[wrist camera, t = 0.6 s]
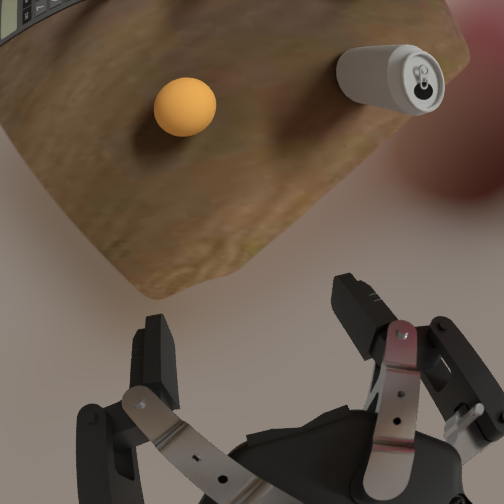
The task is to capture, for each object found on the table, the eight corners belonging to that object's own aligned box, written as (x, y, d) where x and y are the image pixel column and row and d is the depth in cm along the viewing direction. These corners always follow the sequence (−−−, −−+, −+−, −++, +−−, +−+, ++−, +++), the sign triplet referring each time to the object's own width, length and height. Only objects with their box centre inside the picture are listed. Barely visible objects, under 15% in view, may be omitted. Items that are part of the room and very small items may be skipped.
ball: (153, 85, 24) (146, 83, 19) (210, 75, 25) (216, 71, 20) (161, 136, 27) (156, 147, 22) (215, 127, 28) (222, 135, 23)
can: (339, 107, 30) (405, 124, 20) (325, 50, 25) (391, 43, 15) (385, 98, 30) (452, 115, 20) (374, 46, 25) (443, 46, 16)
